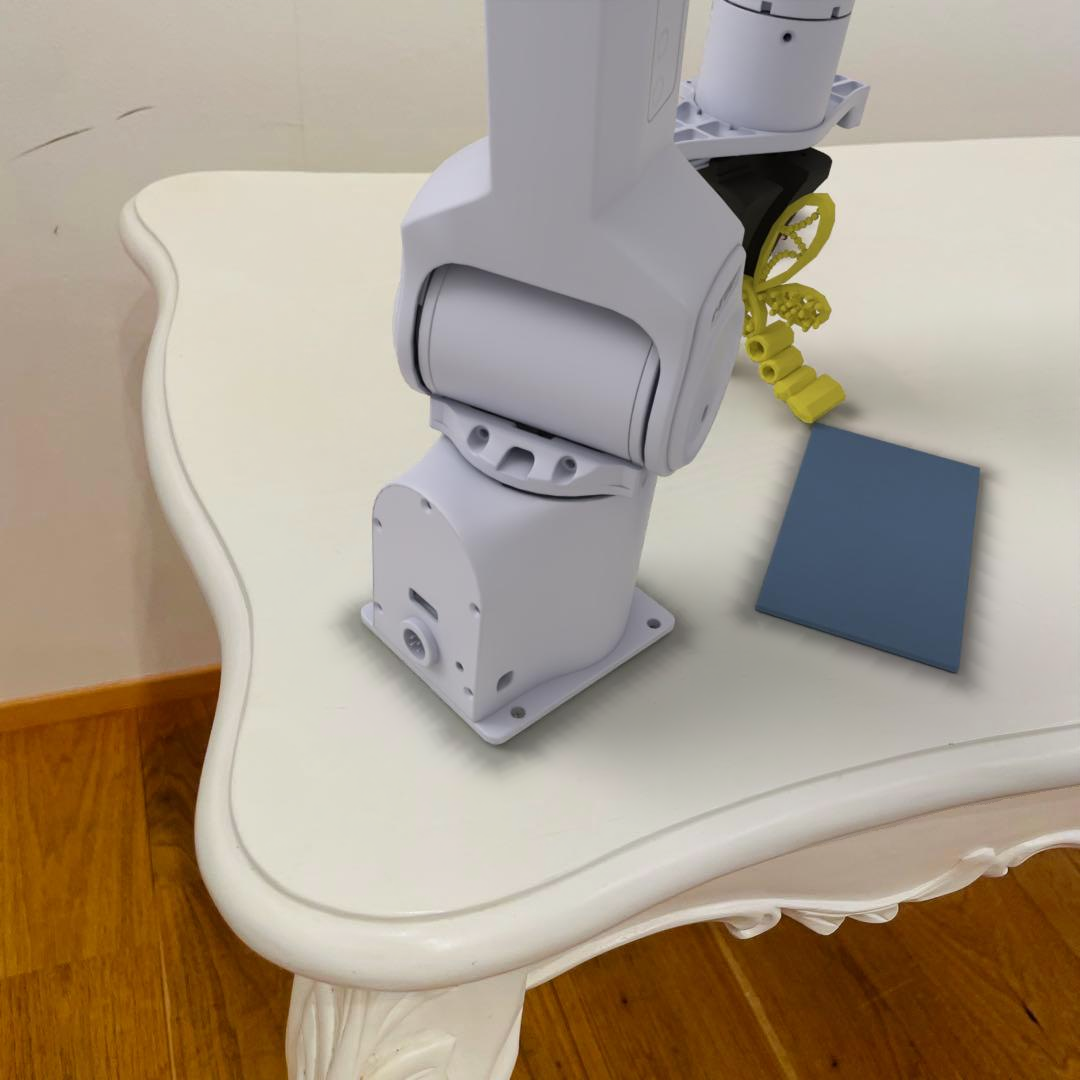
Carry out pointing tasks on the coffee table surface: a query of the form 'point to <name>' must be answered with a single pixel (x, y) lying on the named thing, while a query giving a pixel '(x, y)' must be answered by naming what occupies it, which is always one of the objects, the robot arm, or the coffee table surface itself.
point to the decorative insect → (790, 315)
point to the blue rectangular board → (876, 546)
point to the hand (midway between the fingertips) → (717, 293)
